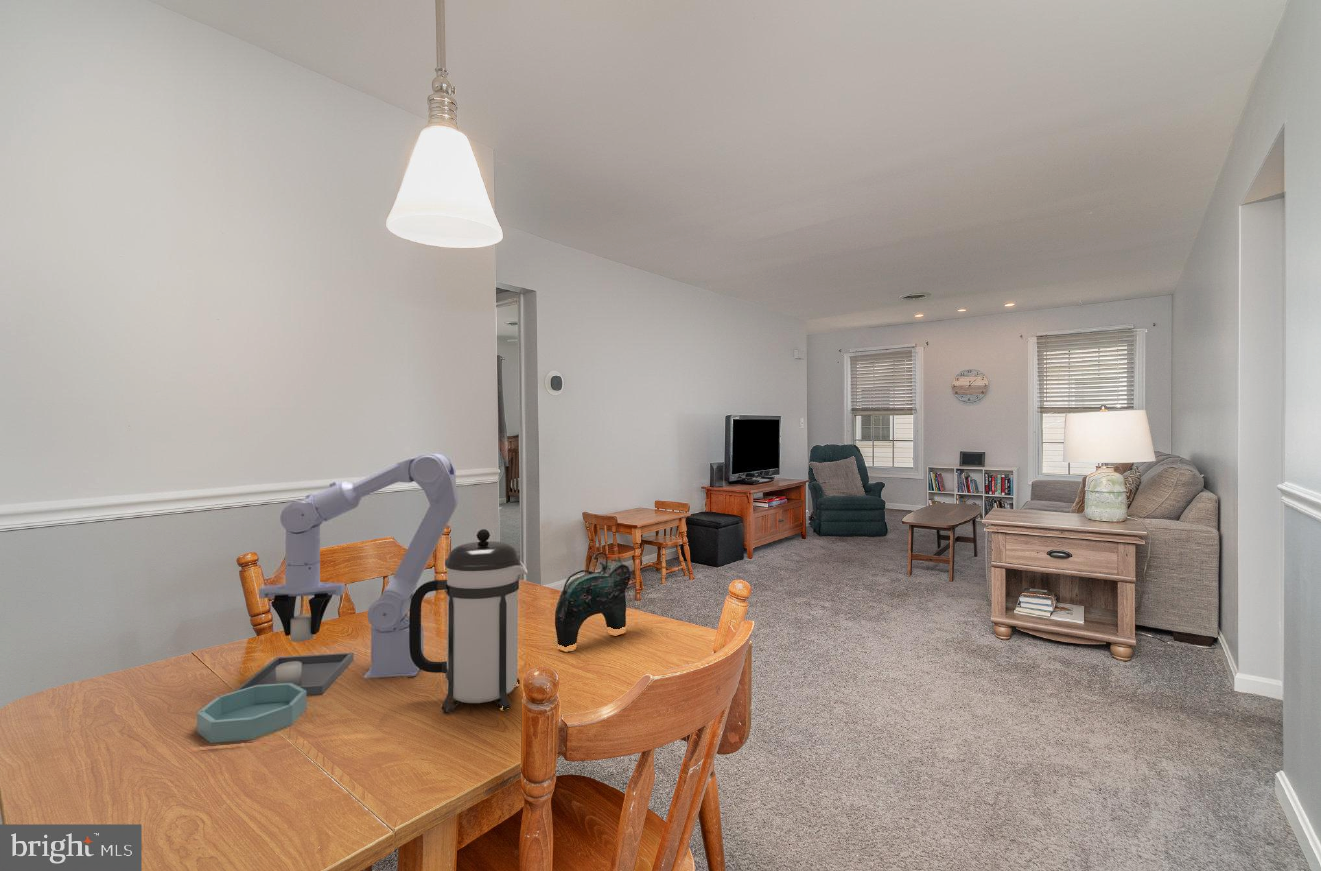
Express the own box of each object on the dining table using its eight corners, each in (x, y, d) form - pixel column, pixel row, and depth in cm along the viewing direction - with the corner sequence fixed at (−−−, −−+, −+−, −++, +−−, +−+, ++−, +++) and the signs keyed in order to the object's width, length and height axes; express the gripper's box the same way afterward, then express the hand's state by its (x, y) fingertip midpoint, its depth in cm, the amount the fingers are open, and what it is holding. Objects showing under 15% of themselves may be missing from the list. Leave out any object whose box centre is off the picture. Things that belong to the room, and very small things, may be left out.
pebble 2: (318, 634, 115) (318, 613, 115) (309, 641, 111) (309, 620, 111) (295, 635, 114) (295, 614, 114) (286, 642, 110) (286, 621, 110)
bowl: (315, 701, 102) (316, 681, 102) (280, 740, 89) (280, 717, 89) (230, 707, 100) (230, 686, 100) (180, 748, 86) (181, 724, 86)
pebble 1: (305, 682, 109) (305, 660, 109) (295, 691, 105) (296, 668, 105) (281, 683, 108) (281, 662, 108) (271, 692, 104) (271, 670, 104)
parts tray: (353, 662, 120) (353, 652, 120) (322, 697, 104) (322, 685, 104) (276, 667, 117) (276, 657, 117) (232, 703, 101) (232, 691, 101)
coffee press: (496, 672, 115) (497, 520, 115) (541, 699, 103) (542, 529, 103) (407, 700, 102) (408, 529, 103) (447, 733, 91) (447, 541, 91)
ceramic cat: (618, 628, 142) (618, 546, 142) (636, 634, 137) (636, 549, 138) (550, 649, 128) (550, 557, 128) (568, 657, 123) (568, 562, 123)
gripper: (350, 557, 118) (350, 625, 118) (271, 559, 115) (271, 628, 115) (337, 565, 111) (337, 636, 111) (253, 567, 108) (252, 641, 108)
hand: (302, 633), depth 112 cm, fingers closed on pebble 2, 4 cm apart
